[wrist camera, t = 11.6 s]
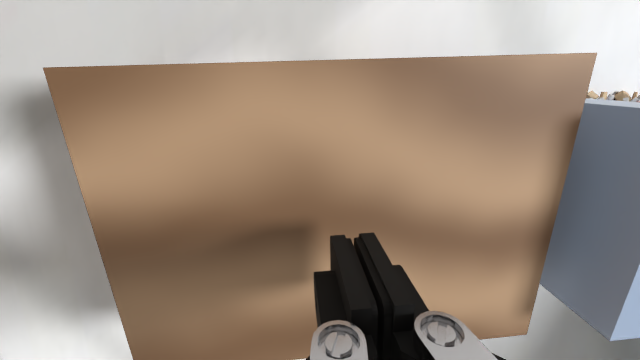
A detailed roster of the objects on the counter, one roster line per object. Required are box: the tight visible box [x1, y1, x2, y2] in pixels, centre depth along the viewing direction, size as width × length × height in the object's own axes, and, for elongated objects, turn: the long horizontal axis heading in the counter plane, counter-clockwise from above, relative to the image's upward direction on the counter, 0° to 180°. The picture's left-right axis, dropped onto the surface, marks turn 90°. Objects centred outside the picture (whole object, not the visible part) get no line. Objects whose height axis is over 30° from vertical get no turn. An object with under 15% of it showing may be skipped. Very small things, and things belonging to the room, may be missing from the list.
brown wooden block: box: [43, 53, 597, 360], centre depth 16 cm, size 14×20×6 cm
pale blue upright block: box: [540, 98, 640, 341], centre depth 15 cm, size 10×7×2 cm
